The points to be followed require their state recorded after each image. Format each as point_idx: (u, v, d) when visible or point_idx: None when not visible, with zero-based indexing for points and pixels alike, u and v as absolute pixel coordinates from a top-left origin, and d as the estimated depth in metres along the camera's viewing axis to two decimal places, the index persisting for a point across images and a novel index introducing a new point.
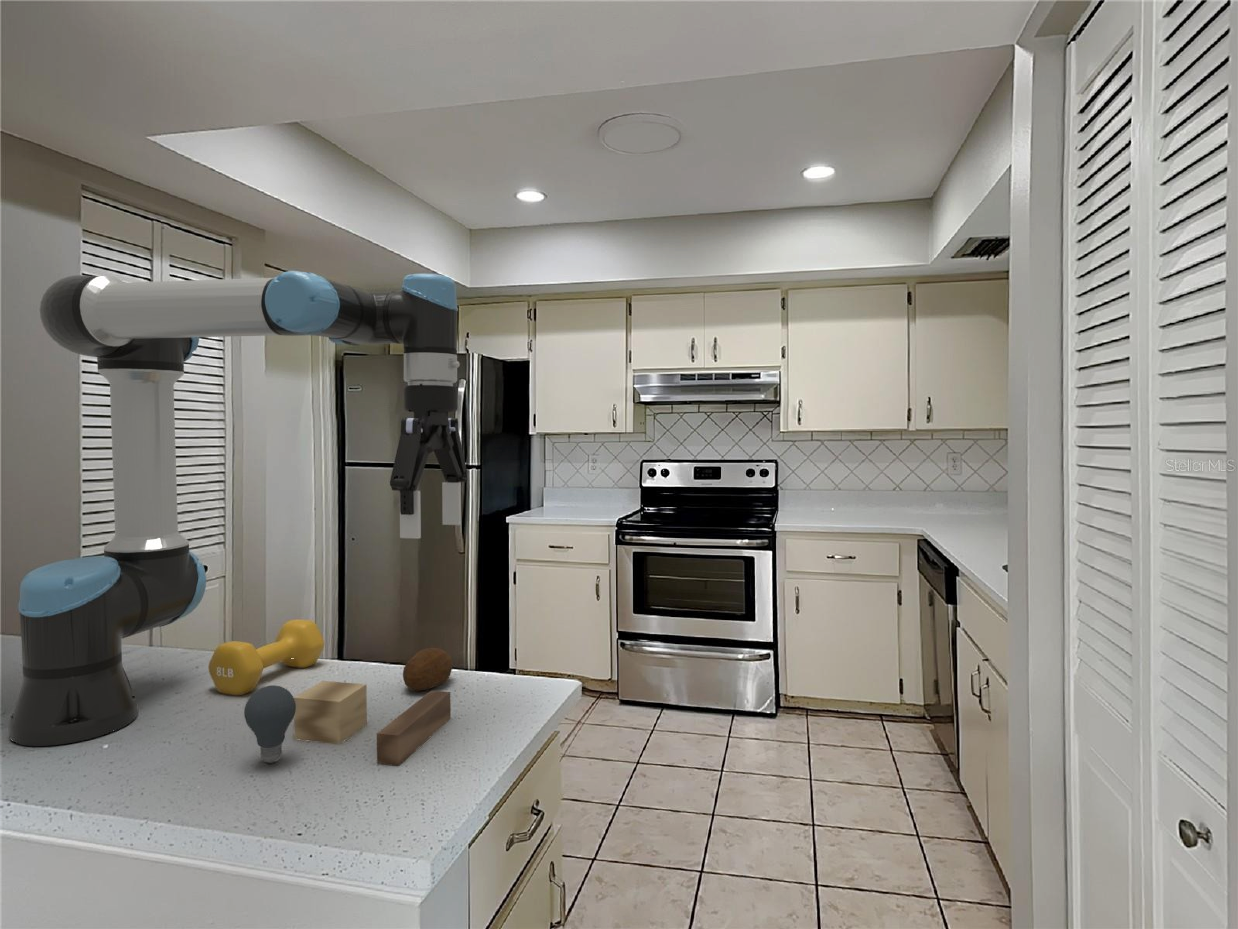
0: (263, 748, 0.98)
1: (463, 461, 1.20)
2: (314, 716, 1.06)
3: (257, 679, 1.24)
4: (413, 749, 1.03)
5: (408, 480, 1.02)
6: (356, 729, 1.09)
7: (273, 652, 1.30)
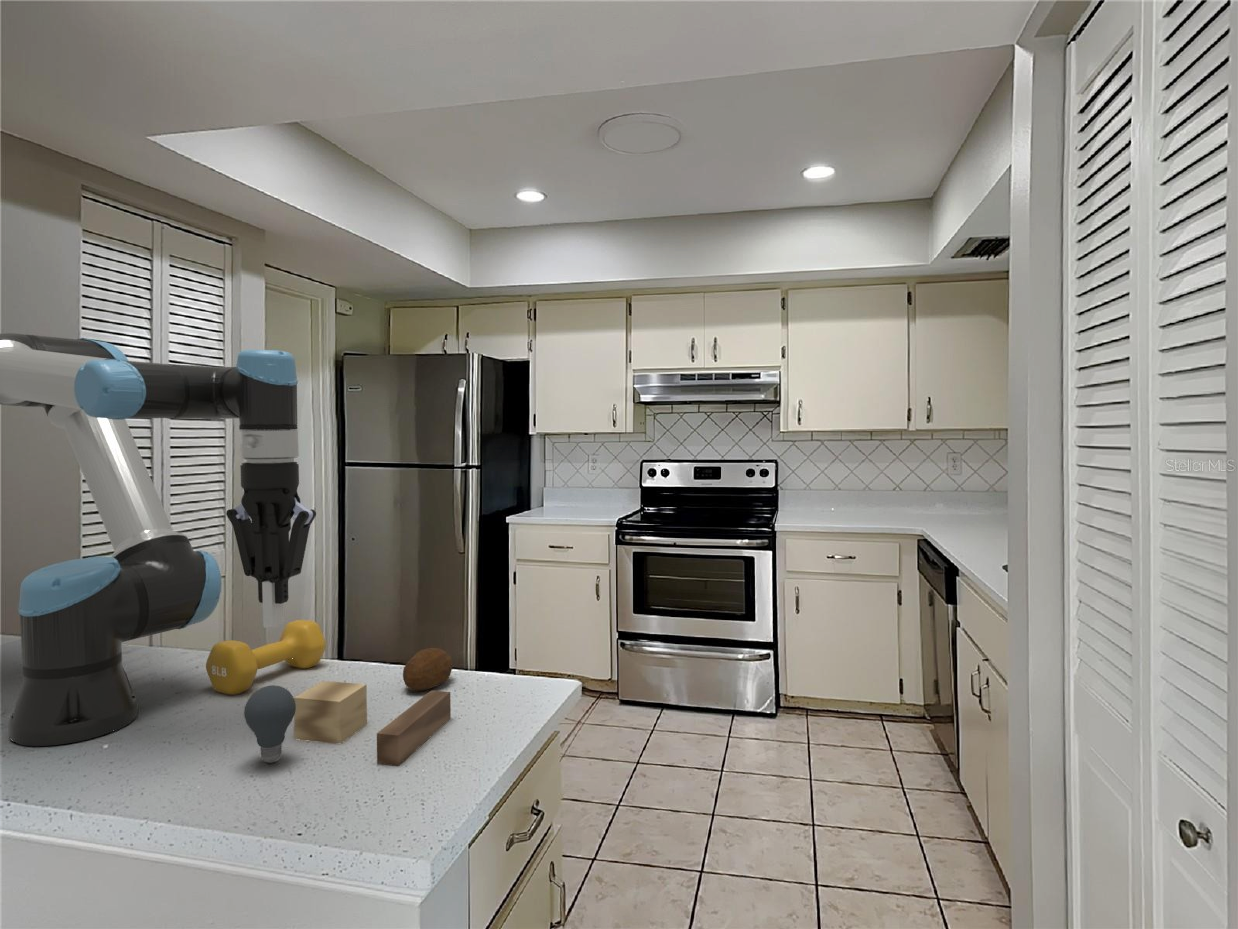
0: (263, 748, 0.98)
1: (290, 560, 1.08)
2: (314, 716, 1.06)
3: (251, 679, 1.24)
4: (413, 749, 1.03)
5: (245, 570, 1.09)
6: (356, 729, 1.09)
7: (271, 652, 1.30)
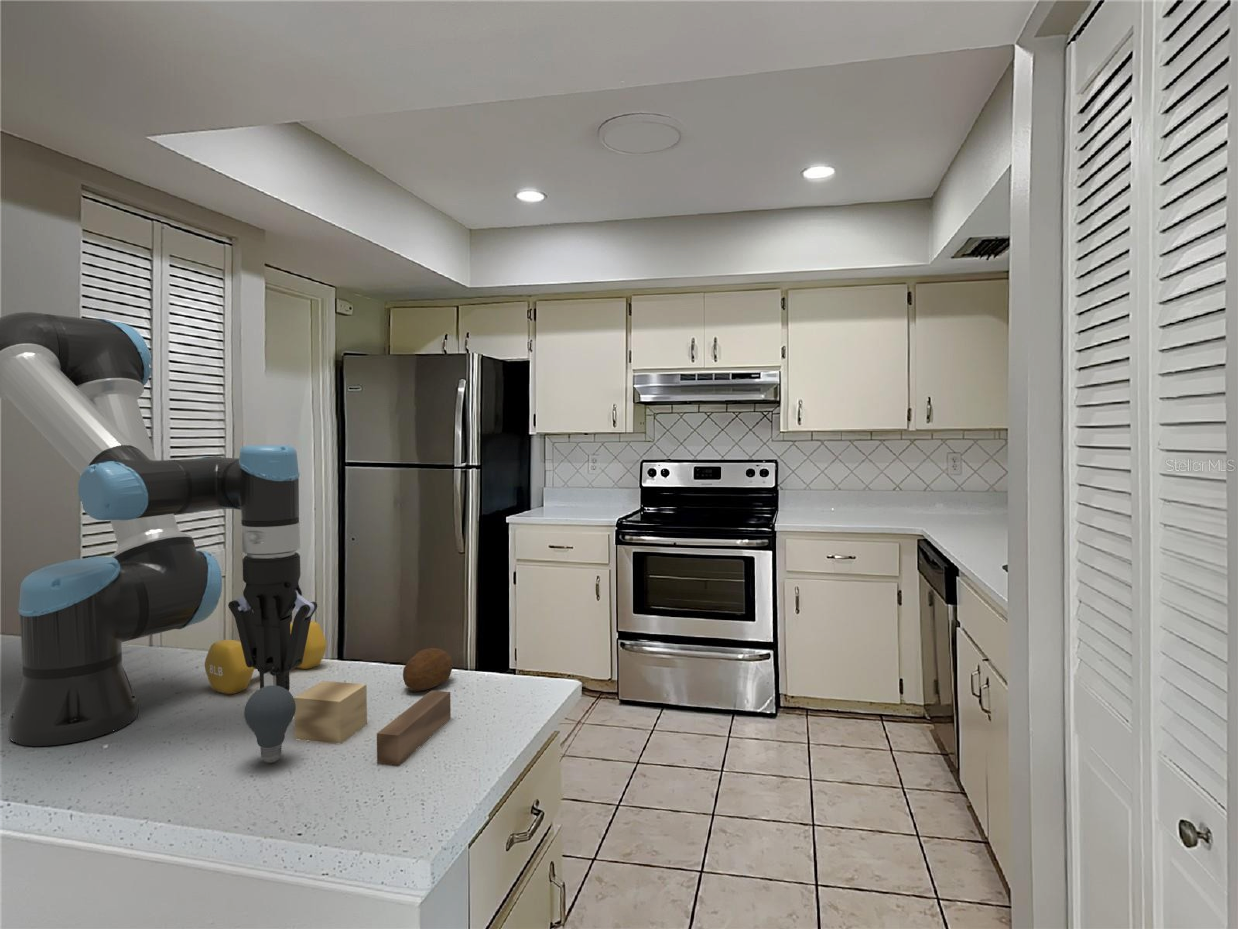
0: (263, 748, 0.98)
1: (291, 653, 1.09)
2: (314, 716, 1.06)
3: (247, 679, 1.24)
4: (413, 749, 1.03)
5: (247, 662, 1.10)
6: (356, 729, 1.09)
7: None
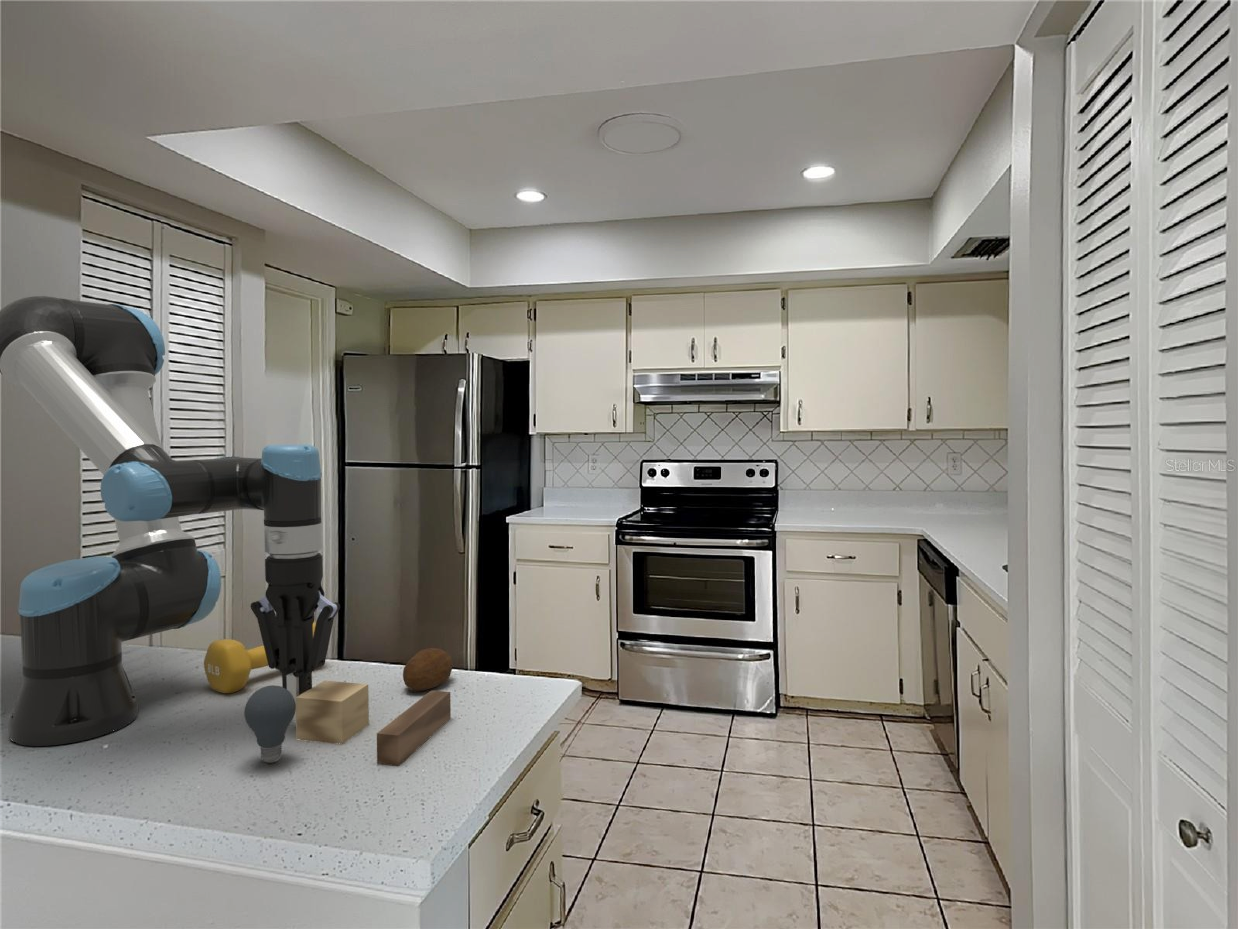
0: (263, 748, 0.98)
1: (314, 654, 1.08)
2: (316, 716, 1.06)
3: (244, 679, 1.24)
4: (413, 749, 1.03)
5: (270, 663, 1.09)
6: (358, 729, 1.09)
7: None
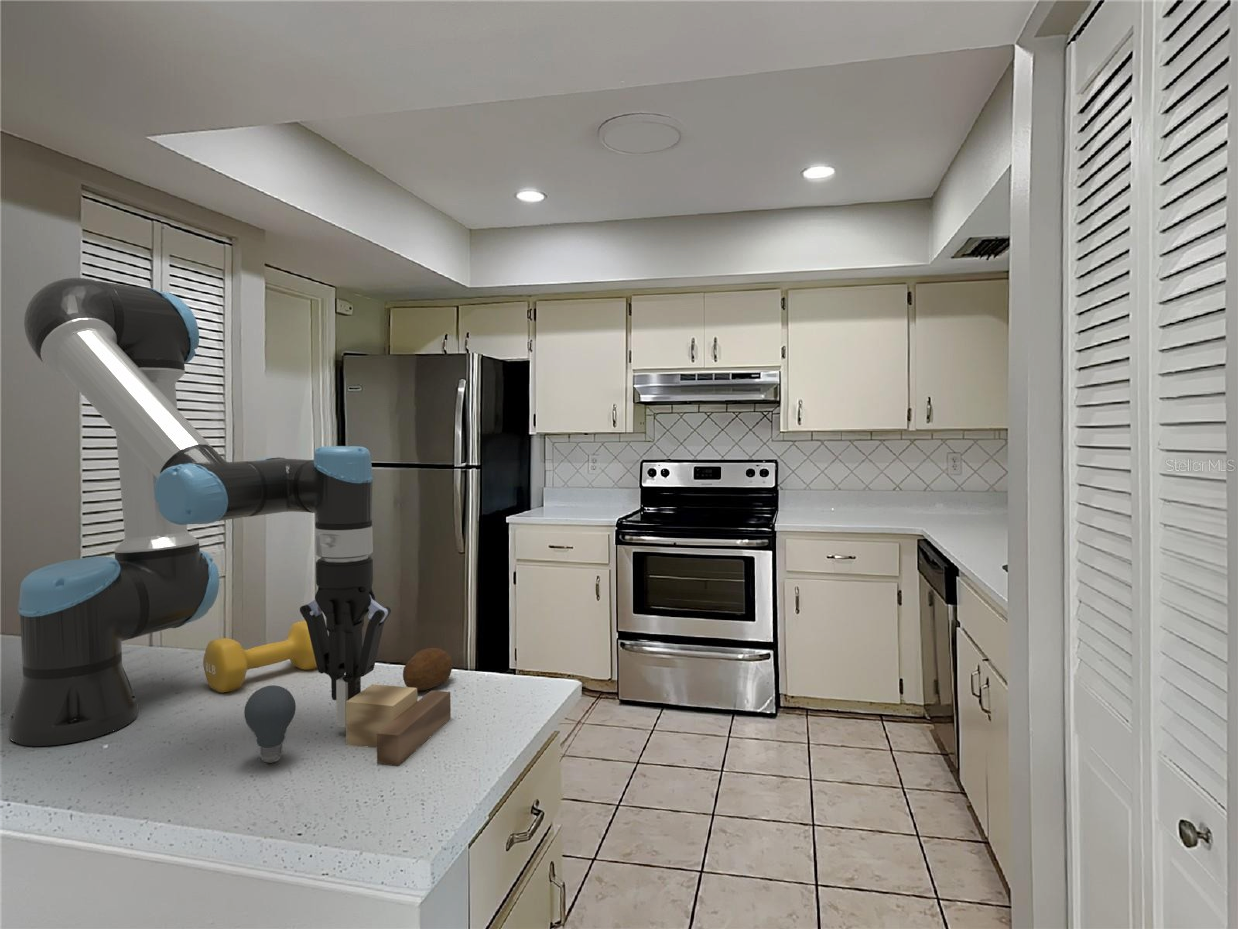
0: (263, 748, 0.98)
1: (364, 659, 1.06)
2: (366, 720, 1.04)
3: (239, 678, 1.25)
4: (413, 749, 1.03)
5: (319, 668, 1.08)
6: None
7: (267, 652, 1.30)
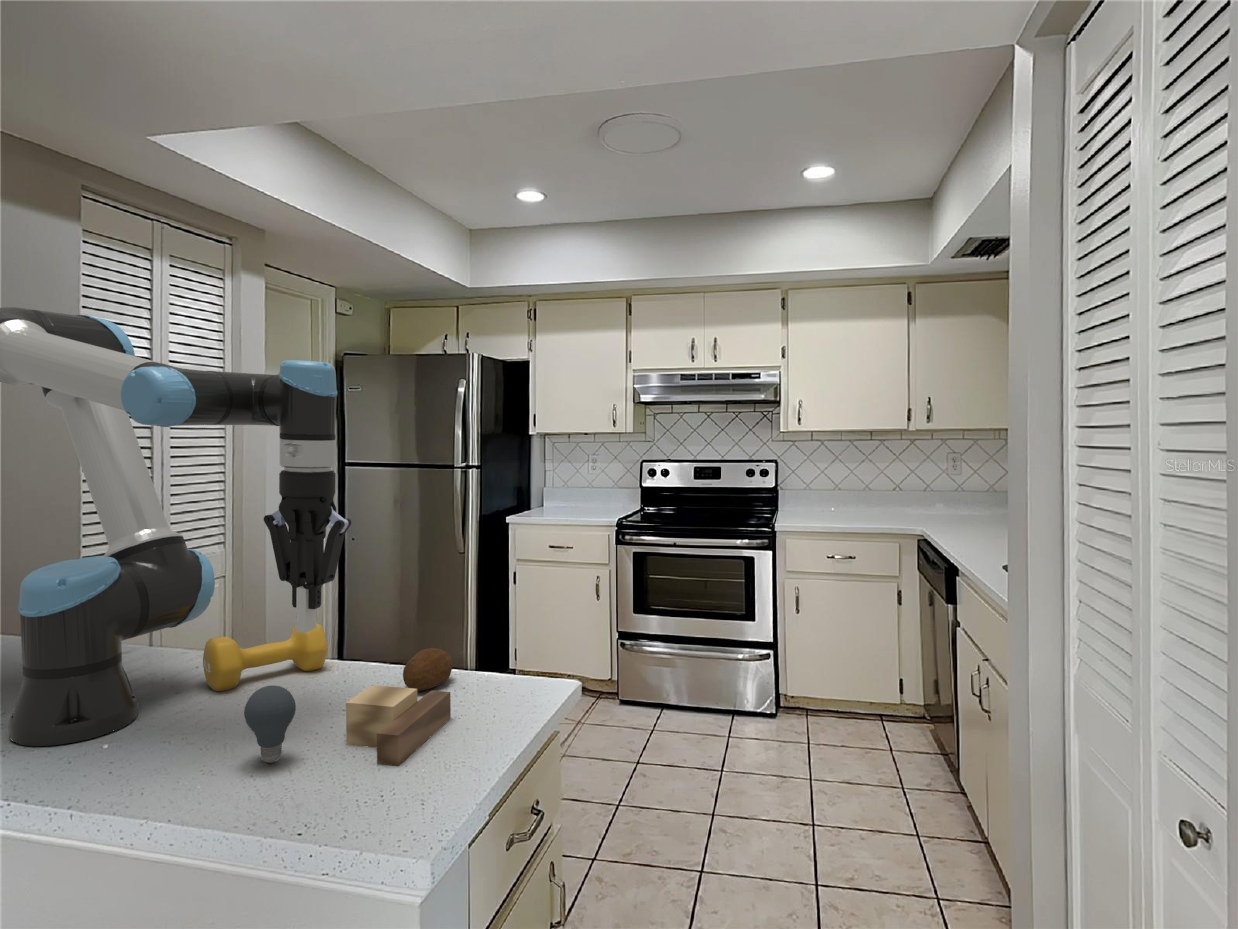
0: (263, 748, 0.98)
1: (324, 567, 1.10)
2: (367, 721, 1.04)
3: (233, 678, 1.25)
4: (413, 749, 1.03)
5: (280, 575, 1.12)
6: None
7: (265, 652, 1.30)
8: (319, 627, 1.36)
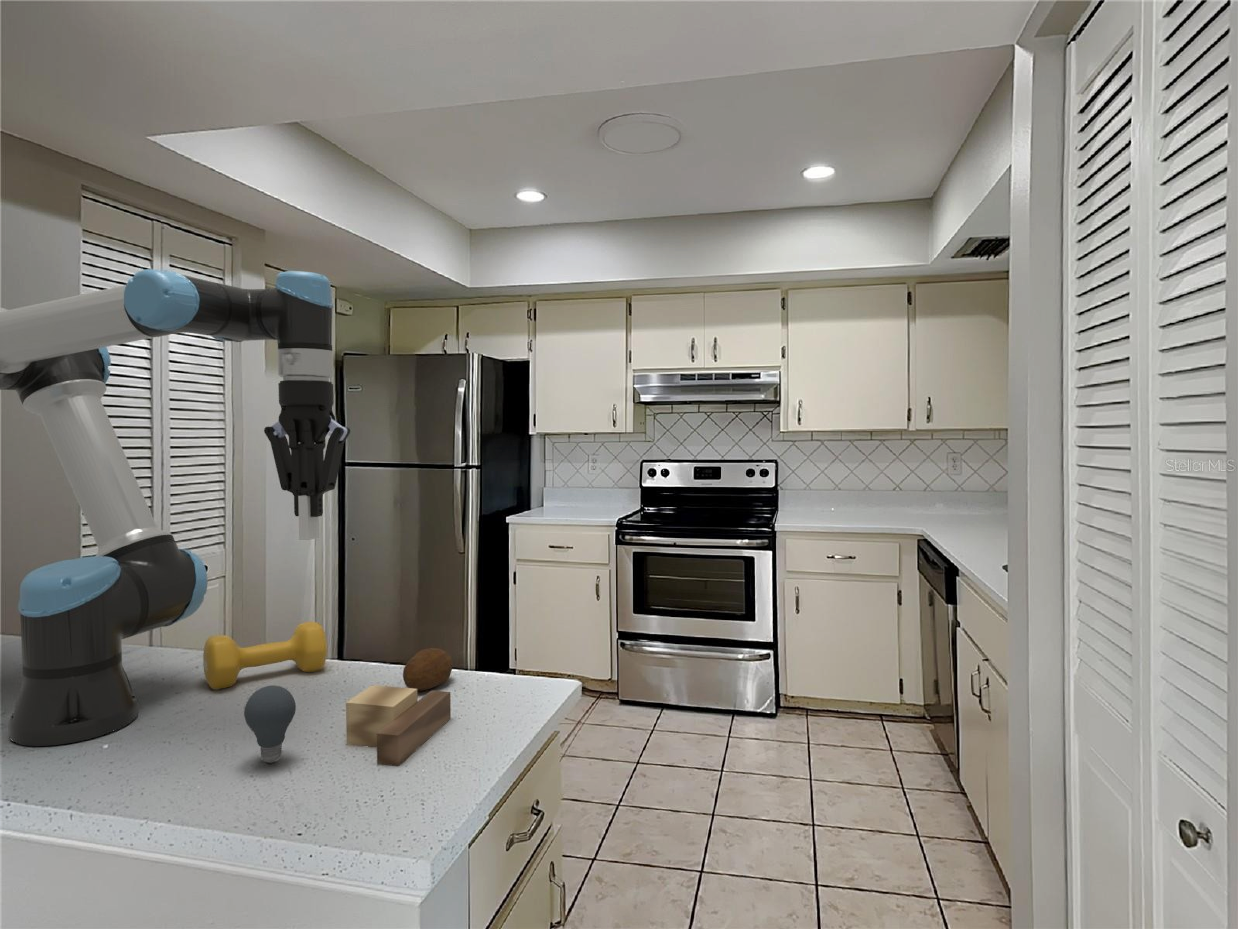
0: (263, 748, 0.98)
1: (325, 474, 1.13)
2: (367, 721, 1.04)
3: (229, 677, 1.25)
4: (413, 749, 1.03)
5: (282, 485, 1.14)
6: None
7: (264, 652, 1.30)
8: (319, 628, 1.35)
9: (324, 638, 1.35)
